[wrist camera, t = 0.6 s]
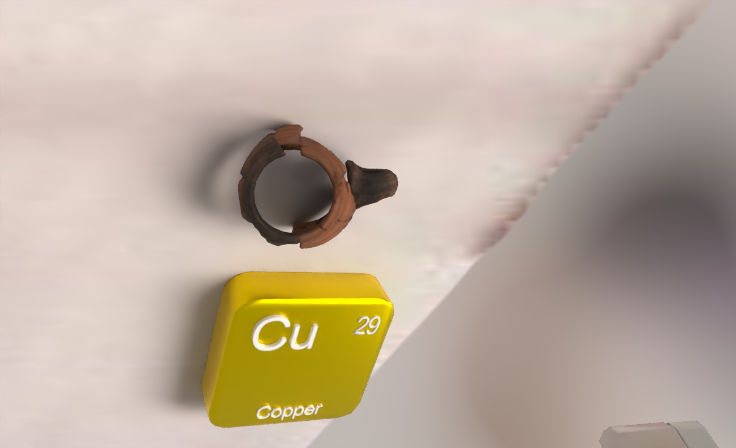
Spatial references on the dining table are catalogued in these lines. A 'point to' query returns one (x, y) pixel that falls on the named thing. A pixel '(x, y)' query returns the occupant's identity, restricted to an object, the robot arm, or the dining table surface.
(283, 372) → the element tile
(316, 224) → the pottery mug
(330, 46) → the dining table surface
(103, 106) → the dining table surface
